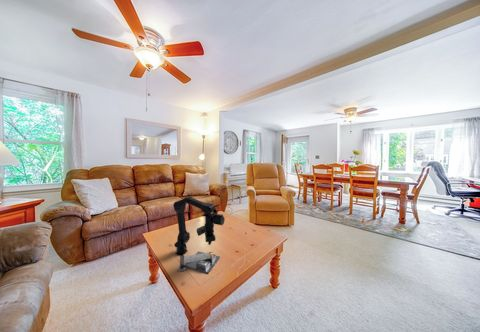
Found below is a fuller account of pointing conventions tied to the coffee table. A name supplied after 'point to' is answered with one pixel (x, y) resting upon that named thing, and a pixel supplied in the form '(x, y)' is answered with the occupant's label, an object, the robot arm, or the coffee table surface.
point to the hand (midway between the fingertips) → (209, 244)
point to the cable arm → (199, 257)
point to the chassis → (203, 264)
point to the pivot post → (182, 264)
